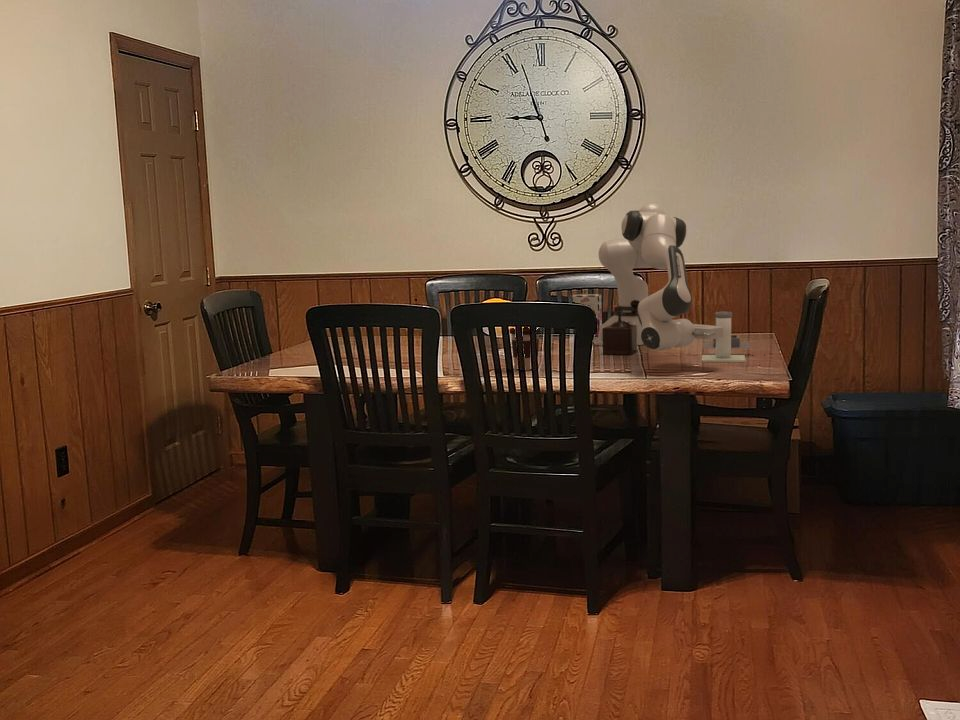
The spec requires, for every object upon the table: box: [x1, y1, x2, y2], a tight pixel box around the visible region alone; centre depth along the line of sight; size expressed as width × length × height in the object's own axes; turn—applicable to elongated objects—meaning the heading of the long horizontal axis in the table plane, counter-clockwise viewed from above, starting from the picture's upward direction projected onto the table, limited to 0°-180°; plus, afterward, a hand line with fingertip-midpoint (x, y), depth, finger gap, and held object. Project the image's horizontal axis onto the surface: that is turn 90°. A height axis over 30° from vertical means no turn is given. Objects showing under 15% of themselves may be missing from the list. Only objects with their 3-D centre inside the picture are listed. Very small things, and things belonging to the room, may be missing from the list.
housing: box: [702, 334, 751, 350], centre depth 374 cm, size 16×16×4 cm
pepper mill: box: [602, 300, 640, 356], centre depth 372 cm, size 16×11×18 cm
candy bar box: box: [571, 293, 603, 337], centre depth 417 cm, size 11×5×16 cm, turn 71°
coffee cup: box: [509, 327, 541, 371], centre depth 342 cm, size 10×10×15 cm
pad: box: [701, 353, 746, 363], centre depth 351 cm, size 14×14×1 cm
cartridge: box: [714, 311, 733, 358], centre depth 350 cm, size 5×5×15 cm
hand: (707, 328), depth 343 cm, fingers open, 8 cm apart
